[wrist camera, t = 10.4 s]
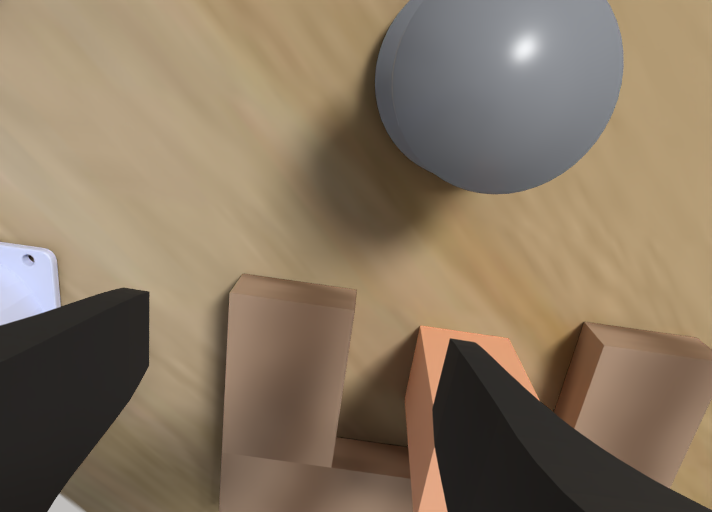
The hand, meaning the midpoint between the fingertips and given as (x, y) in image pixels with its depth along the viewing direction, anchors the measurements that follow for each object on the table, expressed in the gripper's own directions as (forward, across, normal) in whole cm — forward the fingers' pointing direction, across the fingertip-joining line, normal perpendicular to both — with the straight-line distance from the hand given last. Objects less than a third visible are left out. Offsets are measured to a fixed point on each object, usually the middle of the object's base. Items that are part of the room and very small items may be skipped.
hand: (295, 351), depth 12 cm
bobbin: (+9, -4, -7) cm, 12 cm away
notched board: (+9, -7, +8) cm, 14 cm away
